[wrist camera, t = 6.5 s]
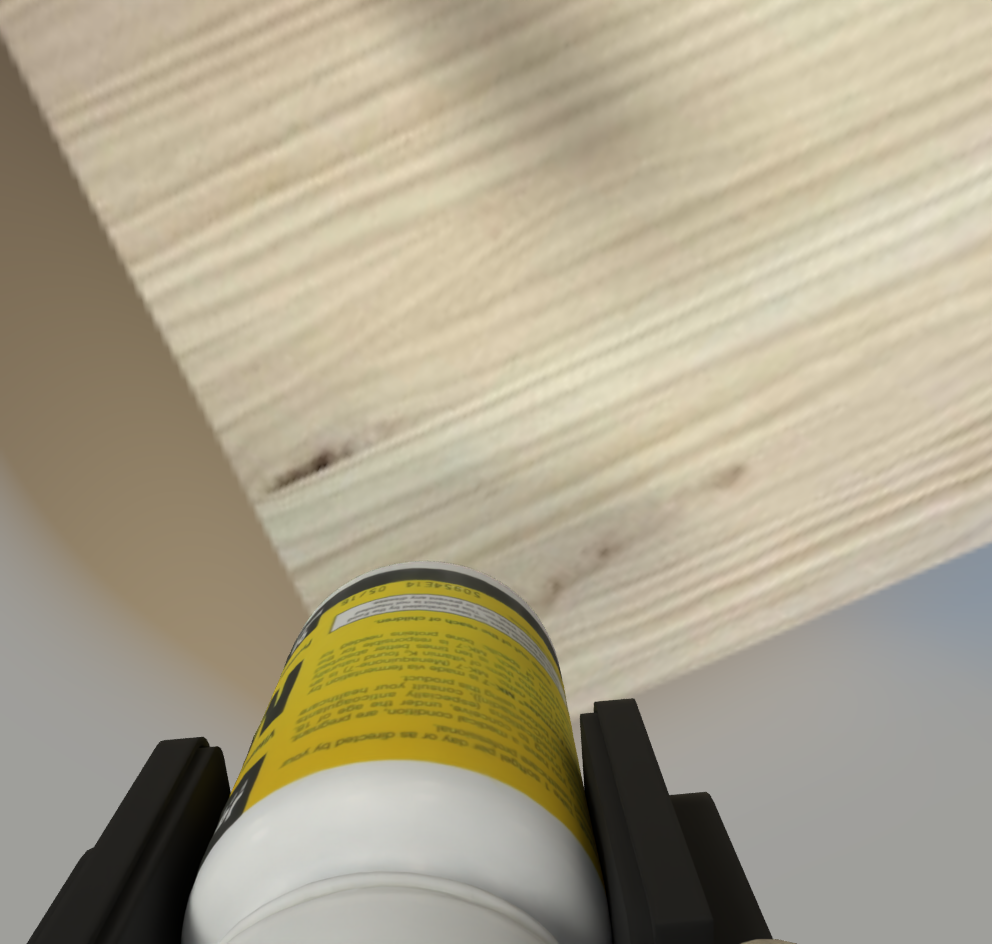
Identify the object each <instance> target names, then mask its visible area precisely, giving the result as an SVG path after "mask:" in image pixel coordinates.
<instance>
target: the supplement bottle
mask: <svg viewBox="0 0 992 944" xmlns="http://www.w3.org/2000/svg"><path fill="white" fill-rule="evenodd" d="M181 944H613V943H612V930H611V921H610V915H609V908H608V902H607V896H606V889H605V883H604V879H603V874H602V870H601V865H600V860H599V856H598V851H597V847H596V842H595V838H594V833H593V828H592V824H591V819H590V814H589V810H588V805H587V800H586V796H585V791H584V786H583V781H582V777H581V772H580V768H579V762H578V757H577V752H576V748H575V743H574V738H573V732H572V726H571V721H570V716H569V712H568V707H567V702H566V696H565V690H564V685H563V681H562V676H561V671H560V667H559V662H558V659H557V656H556V652H555V649H554V647H553V644H552V642H551V639H550V637H549V635H548V633H547V631H546V629H545V627H544V626H543V624H542V622H541V621H540V619H539V618H538V616H537V615H536V614H535V612H534V611H533V610H532V609H531V608H530V606H529V605H528V604H527V603H526V602H525V601H524V600H523V599H522V598H521V597H520V596H519V595H518V594H516V593H515V592H514V591H513V590H511V589H510V588H509V587H507V586H506V585H504V584H503V583H501V582H499V581H498V580H496V579H494V578H492V577H491V576H489V575H486V574H484V573H482V572H479V571H477V570H474V569H471V568H468V567H465V566H461V565H456V564H451V563H445V562H435V561H414V562H405V563H398V564H393V565H389V566H385V567H381V568H378V569H375V570H372V571H369V572H367V573H365V574H363V575H360V576H358V577H356V578H354V579H353V580H351V581H349V582H348V583H346V584H344V585H343V586H341V587H340V588H339V589H337V590H336V591H335V592H333V593H332V594H331V595H330V596H329V597H328V598H327V599H325V600H324V601H323V602H322V603H321V605H320V606H319V607H318V608H317V609H316V610H315V611H314V612H313V614H312V615H311V616H310V618H309V619H308V621H307V622H306V624H305V625H304V627H303V629H302V631H301V632H300V634H299V636H298V638H297V639H296V641H295V643H294V645H293V648H292V650H291V652H290V654H289V656H288V658H287V661H286V664H285V666H284V669H283V672H282V674H281V676H280V679H279V682H278V684H277V686H276V688H275V691H274V693H273V695H272V698H271V701H270V703H269V705H268V707H267V710H266V712H265V714H264V716H263V719H262V721H261V724H260V726H259V727H258V729H257V731H256V733H255V735H254V737H253V740H252V743H251V746H250V749H249V751H248V754H247V757H246V759H245V761H244V764H243V767H242V769H241V772H240V774H239V776H238V778H237V781H236V783H235V785H234V787H233V789H232V792H231V794H230V797H229V799H228V801H227V803H226V805H225V807H224V809H223V811H222V813H221V816H220V819H219V822H218V825H217V828H216V830H215V833H214V835H213V837H212V839H211V841H210V842H209V845H208V847H207V850H206V852H205V854H204V856H203V859H202V861H201V863H200V865H199V868H198V872H197V875H196V878H195V882H194V885H193V887H192V890H191V893H190V895H189V899H188V903H187V907H186V911H185V915H184V921H183V927H182V935H181Z"/></svg>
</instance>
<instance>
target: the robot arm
mask: <svg viewBox="0 0 992 944" xmlns="http://www.w3.org/2000/svg"><path fill="white" fill-rule="evenodd" d="M580 728H581V744H582V759H583V774H584V790H585V796H586V800H587V805H588V810H589V814H590V819H591V824H592V828H593V833H594V838H595V842H596V847H597V851H598V856H599V860H600V865H601V870H602V874H603V879H604V883H605V889H606V896H607V902H608V908H609V915H610V921H611V930H612V943H613V944H796V943H792V942H787V941H783V940H778V939H773V938H772V936H771V933H770V931H769V929H768V926H767V924H766V922H765V920H764V917H763V915H762V913H761V910H760V908H759V906H758V903H757V901H756V899H755V896H754V894H753V892H752V890H751V887H750V885H749V883H748V880H747V878H746V875H745V873H744V871H743V868H742V866H741V864H740V861H739V859H738V857H737V855H736V852H735V850H734V848H733V845H732V843H731V841H730V838H729V836H728V834H727V831H726V829H725V827H724V825H723V822H722V820H721V818H720V815H719V813H718V810H717V808H716V806H715V803H714V802H713V800H712V798H711V796H710V794H708V793H707V792H699V793H689V794H677V795H669V793H668V791H667V788H666V785H665V782H664V779H663V776H662V774H661V771H660V768H659V765H658V762H657V760H656V757H655V754H654V751H653V748H652V746H651V743H650V740H649V737H648V734H647V731H646V729H645V726H644V723H643V720H642V717H641V715H640V712H639V709H638V706H637V704H636V701H635V699H633V698H632V699H621V700H609V701H598V702H594V713H585V714H580ZM230 794H231V792H230V787H229V781H228V776H227V771H226V766H225V760H224V756H223V752H222V750H221V748H220V747H218V746H216V747H210V746H209V743H208V741H207V739H205V738H204V737H196V738H185V739H174V740H164V741H160V742H159V744H158V745H157V746H156V748H155V749H154V751H153V753H152V754H151V756H150V757H149V759H148V761H147V762H146V764H145V765H144V767H143V769H142V770H141V772H140V774H139V776H138V777H137V778H136V780H135V782H134V783H133V785H132V787H131V788H130V790H129V791H128V793H127V795H126V796H125V798H124V800H123V801H122V803H121V804H120V806H119V807H118V809H117V811H116V812H115V814H114V816H113V817H112V819H111V820H110V822H109V824H108V825H107V827H106V829H105V830H104V832H103V833H102V835H101V837H100V838H99V840H98V841H97V843H96V845H95V847H94V848H91V849H89V850H87V851H86V853H85V854H84V855H83V856H82V857H81V859H80V860H79V861H78V863H77V865H76V866H75V868H74V869H73V871H72V873H71V874H70V876H69V877H68V879H67V881H66V882H65V884H64V885H63V887H62V889H61V890H60V892H59V893H58V895H57V896H56V898H55V900H54V901H53V903H52V904H51V906H50V908H49V909H48V911H47V913H46V914H45V916H44V917H43V919H42V920H41V922H40V923H39V925H38V927H37V928H36V930H35V931H34V933H33V935H32V936H31V938H30V939H29V941H28V943H27V944H181V935H182V927H183V921H184V915H185V911H186V907H187V903H188V899H189V895H190V893H191V890H192V887H193V885H194V882H195V878H196V875H197V872H198V868H199V865H200V863H201V861H202V859H203V856H204V854H205V852H206V850H207V847H208V845H209V842H210V841H211V839H212V837H213V835H214V833H215V830H216V828H217V825H218V822H219V819H220V816H221V813H222V811H223V809H224V807H225V805H226V803H227V801H228V799H229V797H230Z"/></svg>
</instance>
